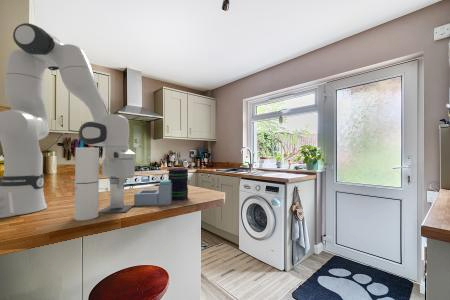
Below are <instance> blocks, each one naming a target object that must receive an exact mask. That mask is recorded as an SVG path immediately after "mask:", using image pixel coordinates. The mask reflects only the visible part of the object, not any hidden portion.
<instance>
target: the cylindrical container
mask: <svg viewBox="0 0 450 300" xmlns="http://www.w3.org/2000/svg"><path fill="white" fill-rule="evenodd" d="M74 158H75V159H74V163H75V164H74V166H75V167H74V168H75V169H74V218H73V219H74V221H89V220H93V219H96V218H97V217H99V214H98V212H99V195H100V192H99V189H100V188H99V186H100V181H99V180H100V147H85V146H82V147H75V157H74Z"/></svg>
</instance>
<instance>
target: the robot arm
mask: <svg viewBox="0 0 450 300" xmlns="http://www.w3.org/2000/svg"><path fill="white" fill-rule="evenodd" d="M12 33H13V34H12V38H13V42H14V43H15V44H16V46H18V47H19V48H20V49H13V50H11V51H10V52H9V55H8V57H7V61H6V67H5V98H6V99H7V101H8V104H9V106H10V107H9V108H10V109H5V110H1V111H0V145H1V148H2V152H3V175H2V176H1V177H0V218H8V217H14V216H18V215H19V216H20V215H25V214H32V213H35V212H39V211H44V210H46V209H47V208H48V205H47V203H46V199H45V193H44V185H45V174H44V173H43V169H44V168H43V167H44V155H43V152H42V151H41V147H40V143H39V142H40V140H44V139H45V138H47V136H48V135H49V133H50V130H51V129H50V126H49V123H48V116H47V110H46V105H45V71H46V70H47V69H48V70H49V71H58V70H59V74H60V77H61V80H62V82H63V85H64V86H65V88H66V90H67V91H68V92H69V93H70V94H72V95H73V96H74V97H76V98H78V99H79V100H80V101H82V103H84V104H85V105H86V107H87V108H88V109H89V112H90V114H91V116H92V118H93V121H87V122H84V123H83V124H82V125H81V126H80V128H79V129H78V137H79V140H80V141H81V142H82V143H83V144H85V145H88V146H92V147H93V146H95V147H101V148H104V158H103V160H102V165H101V168H102V169H101V173H102V175H103V176H107V177H108V181H109V182H110V178H119V180H120V181H119V184H118V189H123V188H124V189H125V183H126V180H127V179H133V178H134V176H135V171H136V169H135V168H136V166H135V165H136V164H135V163H136V162H135V159H136V152H133V151H132V150H131V149H130V144H129V143H130V142H129V140H130V134H131V133H130V124H129V120H128V118H127V117H125V116H123V115H120V114H116V113H109V112H108V110H107V107H106V106H105V102H104V100H103V98H102V95H101V93H100V90H99V88H98V86H97V82H96V79H95V76H94V73H93V70H92V66H91V64H90V62H89V60H88V58H87V56H86V54H85V52H84V51H83V49H82V48H80V47H79V46H77V45H75V44H71V43H70V44H69V43H68V44H64V43H63V42H62V41H61V40H59V39H58V38H57V37H55V36H54V35H52V34H51V33H49V32H47V31H46V30H45V29H43V28H42V27H39V26H37V25H35V24H33V23H27V22H24V23H21V24H19V25H17V26H16V27H15V29H14V30H13V32H12Z"/></svg>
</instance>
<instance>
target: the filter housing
mask: <svg viewBox="0 0 450 300" xmlns="http://www.w3.org/2000/svg"><path fill="white" fill-rule="evenodd" d="M133 195H134V198H133V199H134V200H133V207H134V206H171V204H172V183H170V184H163V185H162V184H160V183H159V184H158V189H140V190H138V191H137V192H136V193H134V194H133Z"/></svg>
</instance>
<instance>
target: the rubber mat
mask: <svg viewBox="0 0 450 300" xmlns="http://www.w3.org/2000/svg"><path fill="white" fill-rule="evenodd" d="M133 207H134V204H127V205H125V204H124V205H123V206H119V207H110V205H107V206H106V207H104V208H103V209H101V210H100V211H99V210H98V215H100V214H103V215H104V214H126V213H128V211H130V210H131V209H132V208H133Z"/></svg>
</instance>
